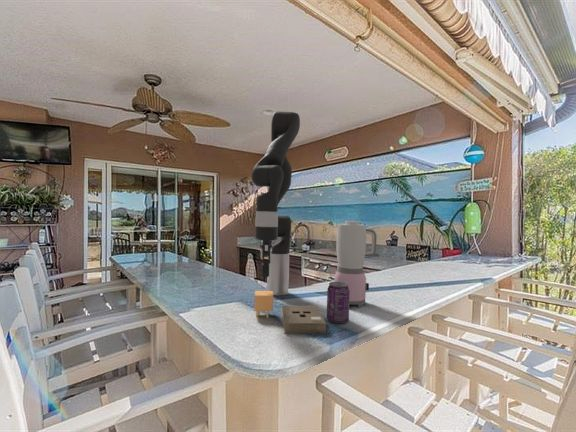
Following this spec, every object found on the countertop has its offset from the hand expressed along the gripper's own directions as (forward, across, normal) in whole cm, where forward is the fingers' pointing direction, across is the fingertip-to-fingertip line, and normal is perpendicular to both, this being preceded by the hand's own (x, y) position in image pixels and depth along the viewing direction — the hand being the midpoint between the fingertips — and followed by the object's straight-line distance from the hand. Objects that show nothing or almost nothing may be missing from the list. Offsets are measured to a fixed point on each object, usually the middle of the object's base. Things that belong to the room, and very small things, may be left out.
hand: (265, 274), depth 100 cm
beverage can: (+14, -4, -24) cm, 28 cm away
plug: (+14, 0, 0) cm, 14 cm away
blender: (+14, +14, -35) cm, 40 cm away
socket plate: (+14, -7, -12) cm, 19 cm away
